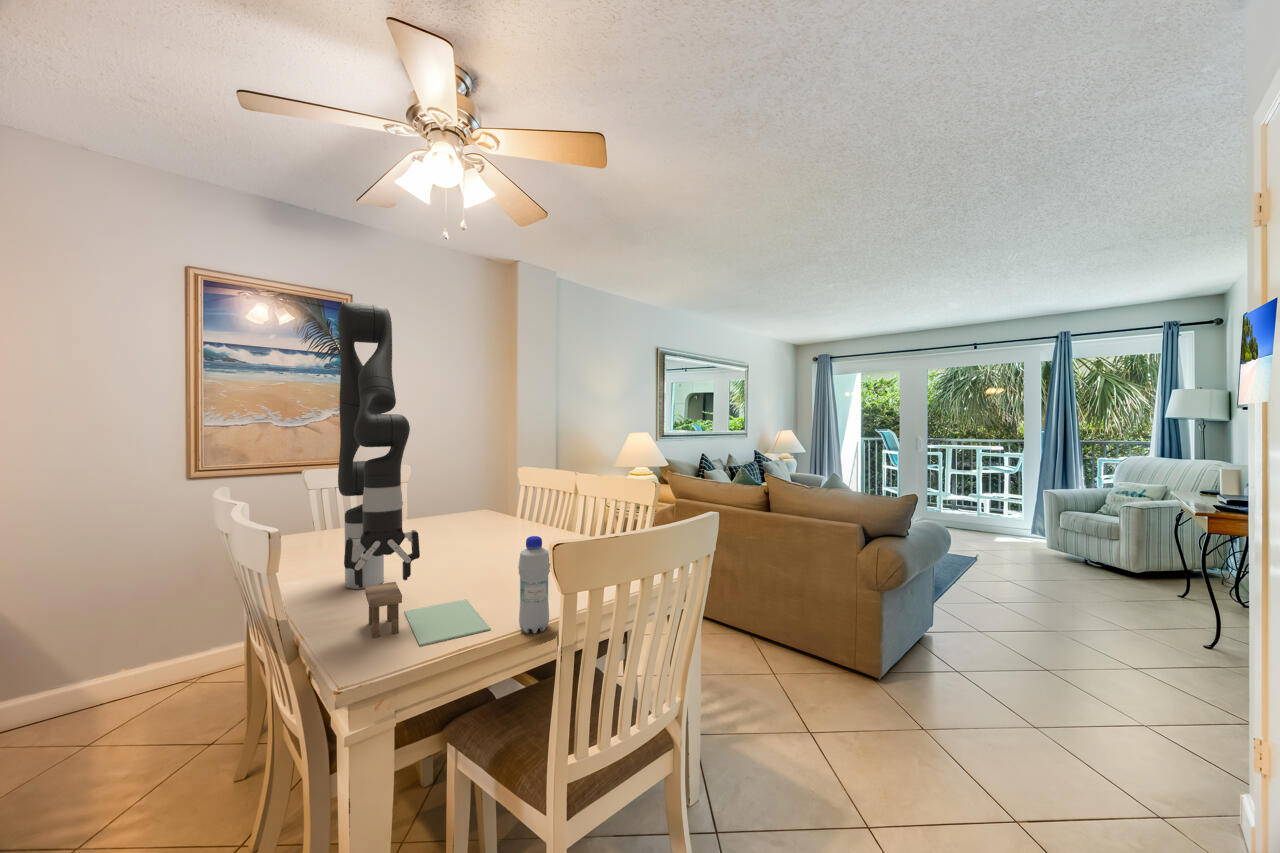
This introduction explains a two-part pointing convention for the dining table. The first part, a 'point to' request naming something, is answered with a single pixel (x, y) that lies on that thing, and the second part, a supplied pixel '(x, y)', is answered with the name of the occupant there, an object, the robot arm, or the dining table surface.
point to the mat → (445, 622)
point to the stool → (383, 597)
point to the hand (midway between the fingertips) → (383, 583)
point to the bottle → (534, 586)
